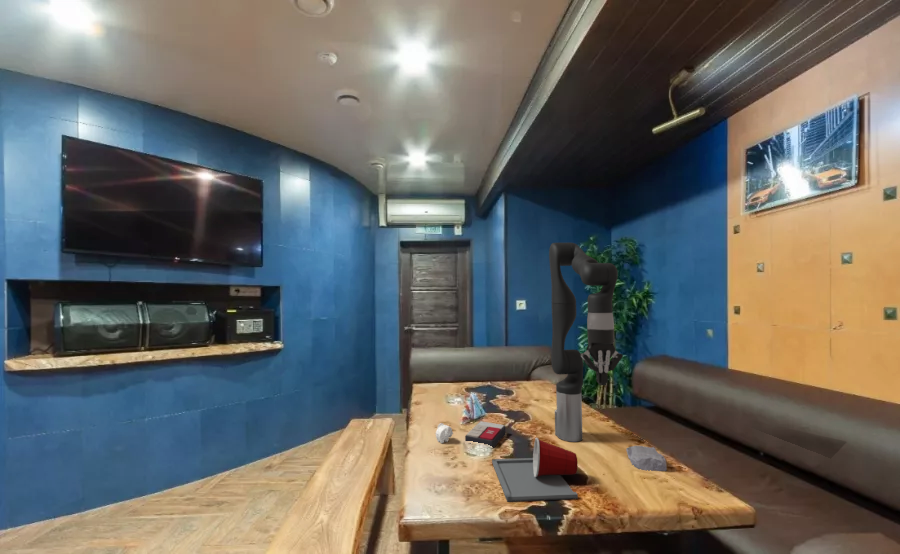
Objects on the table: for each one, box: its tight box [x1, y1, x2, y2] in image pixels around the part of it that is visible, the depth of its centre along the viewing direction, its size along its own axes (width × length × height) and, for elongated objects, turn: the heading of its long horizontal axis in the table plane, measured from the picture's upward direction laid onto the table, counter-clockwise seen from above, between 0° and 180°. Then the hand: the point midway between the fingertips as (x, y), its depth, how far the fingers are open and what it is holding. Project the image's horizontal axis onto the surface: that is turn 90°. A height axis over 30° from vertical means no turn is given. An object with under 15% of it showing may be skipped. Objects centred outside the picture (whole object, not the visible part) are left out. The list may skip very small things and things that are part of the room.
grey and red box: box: [464, 420, 507, 449], centre depth 136 cm, size 11×4×15 cm
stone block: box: [626, 445, 668, 472], centre depth 115 cm, size 12×5×10 cm
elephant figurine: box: [434, 422, 454, 444], centre depth 133 cm, size 7×8×6 cm
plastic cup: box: [532, 437, 579, 477], centre depth 106 cm, size 11×11×12 cm
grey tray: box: [491, 457, 579, 503], centre depth 105 cm, size 19×22×1 cm
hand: (602, 384), depth 108 cm, fingers closed
